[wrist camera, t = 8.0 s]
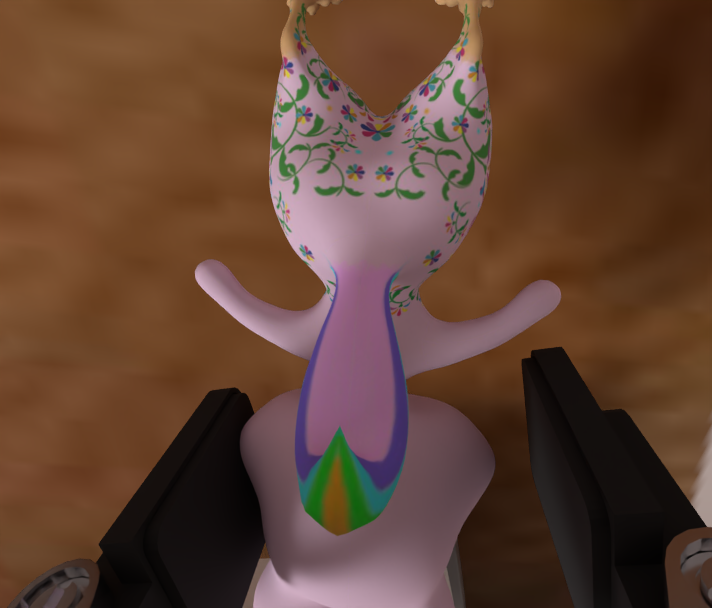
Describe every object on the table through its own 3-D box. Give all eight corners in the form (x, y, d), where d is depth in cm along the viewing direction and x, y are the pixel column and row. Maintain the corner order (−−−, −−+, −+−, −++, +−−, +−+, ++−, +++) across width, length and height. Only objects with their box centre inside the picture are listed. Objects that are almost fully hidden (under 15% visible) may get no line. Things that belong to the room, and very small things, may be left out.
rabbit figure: (236, 25, 9) (247, 620, 13) (-62, -266, 3) (116, 972, 7) (559, 29, 8) (473, 652, 12) (883, -319, 3) (533, 1066, 6)
